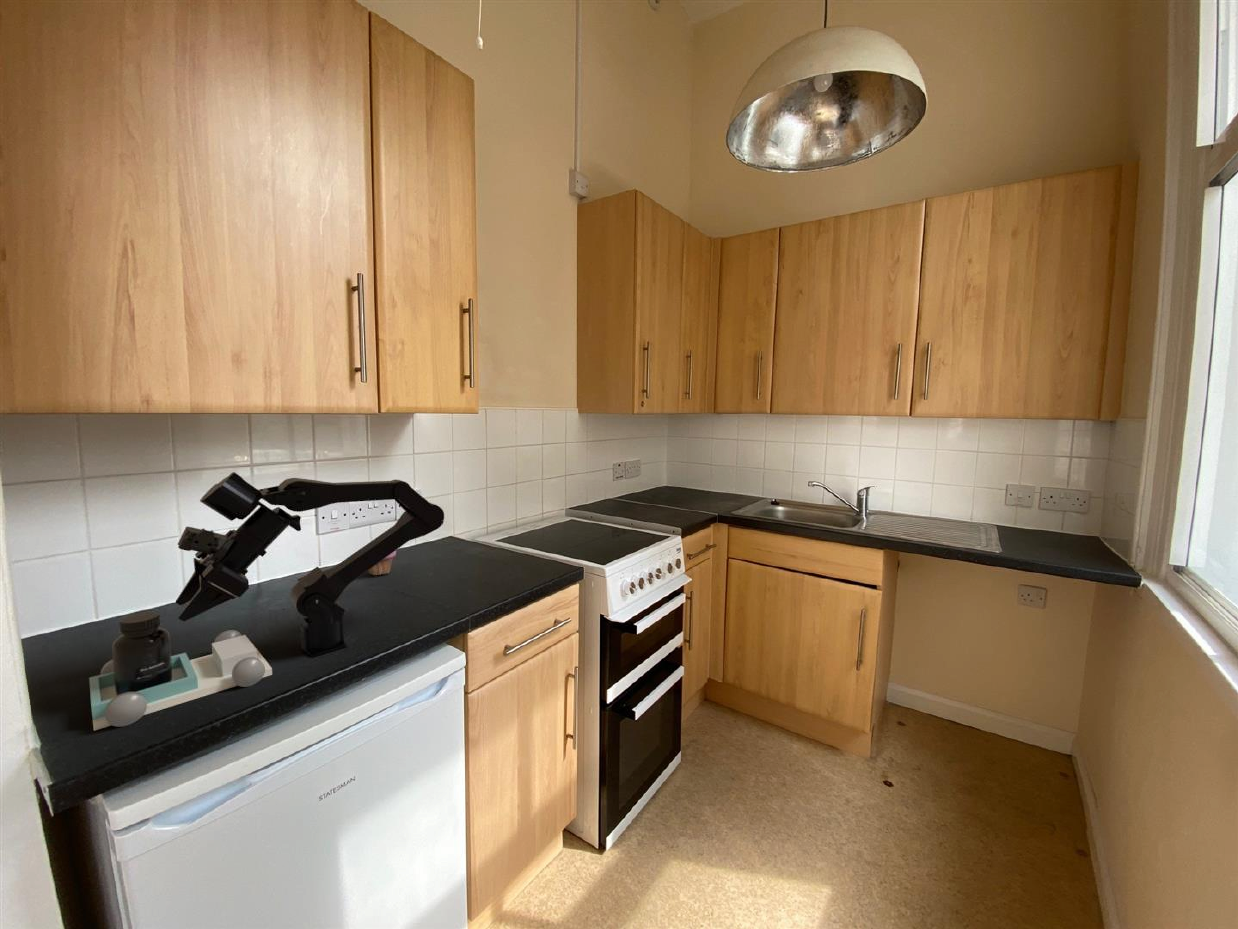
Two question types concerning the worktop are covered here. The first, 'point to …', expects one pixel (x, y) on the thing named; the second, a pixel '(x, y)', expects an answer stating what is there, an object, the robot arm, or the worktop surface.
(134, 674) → the supplement bottle
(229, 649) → the chassis
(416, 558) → the worktop surface
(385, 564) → the cupcake
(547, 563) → the worktop surface
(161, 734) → the worktop surface
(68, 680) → the worktop surface
